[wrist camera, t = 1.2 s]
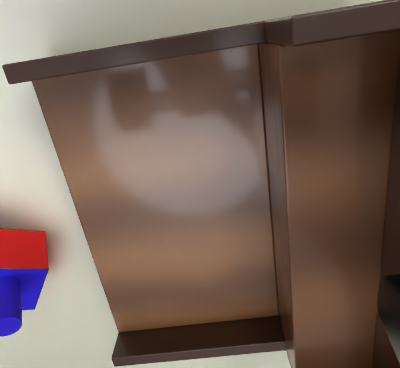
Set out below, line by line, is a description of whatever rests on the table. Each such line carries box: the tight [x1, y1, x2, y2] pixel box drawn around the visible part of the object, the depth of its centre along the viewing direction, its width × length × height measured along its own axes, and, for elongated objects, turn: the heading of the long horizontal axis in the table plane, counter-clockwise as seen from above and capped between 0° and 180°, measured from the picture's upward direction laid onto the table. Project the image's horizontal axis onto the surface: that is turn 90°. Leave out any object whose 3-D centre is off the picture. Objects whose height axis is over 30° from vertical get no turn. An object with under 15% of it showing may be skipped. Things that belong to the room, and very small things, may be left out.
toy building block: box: [0, 228, 49, 336], centre depth 21 cm, size 4×4×8 cm
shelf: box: [3, 0, 400, 368], centre depth 17 cm, size 19×16×10 cm
